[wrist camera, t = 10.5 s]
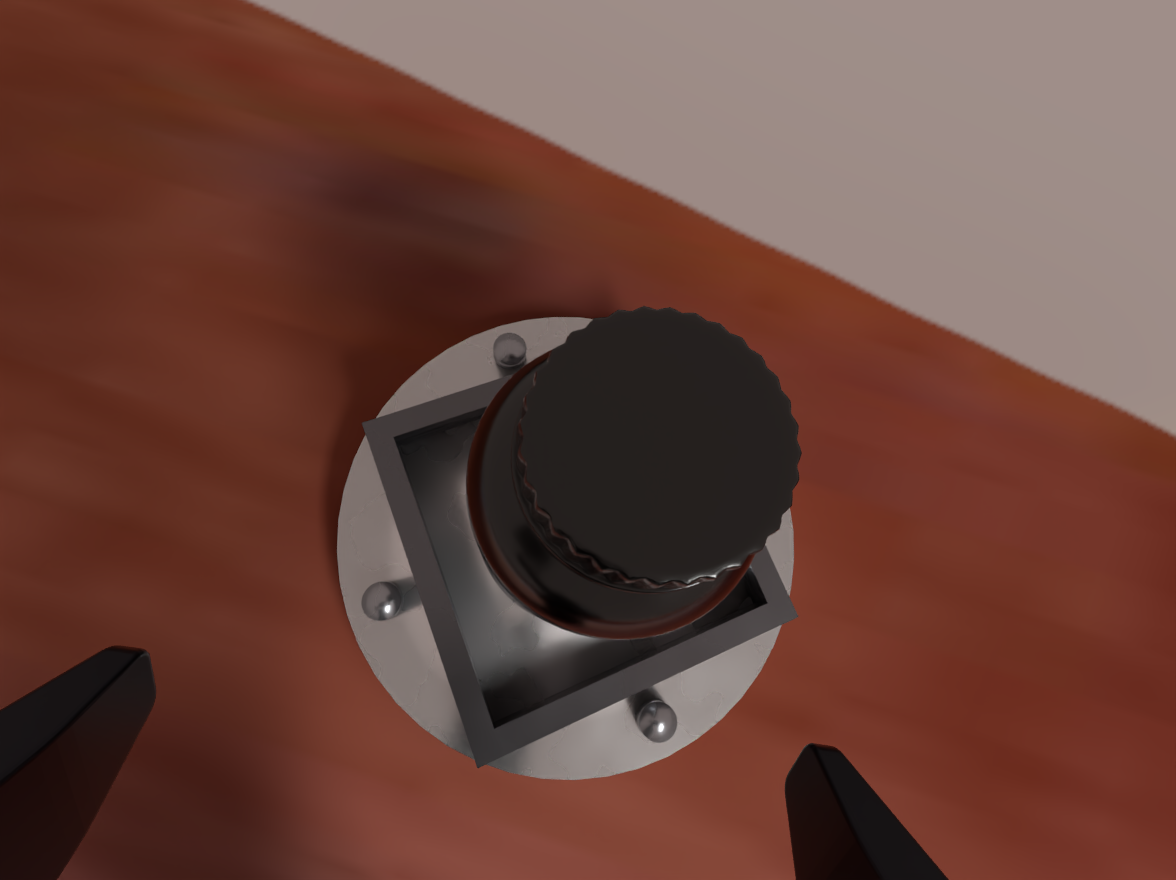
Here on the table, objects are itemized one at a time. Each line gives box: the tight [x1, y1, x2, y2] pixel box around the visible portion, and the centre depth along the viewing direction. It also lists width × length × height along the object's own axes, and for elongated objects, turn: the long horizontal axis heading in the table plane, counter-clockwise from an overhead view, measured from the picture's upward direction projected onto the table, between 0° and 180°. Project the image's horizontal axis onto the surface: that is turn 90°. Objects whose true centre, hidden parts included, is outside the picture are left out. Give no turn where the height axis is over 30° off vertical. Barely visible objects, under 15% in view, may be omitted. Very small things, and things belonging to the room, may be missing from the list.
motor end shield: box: [337, 317, 798, 780], centre depth 22 cm, size 16×16×3 cm
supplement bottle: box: [466, 306, 802, 640], centre depth 16 cm, size 7×7×12 cm
